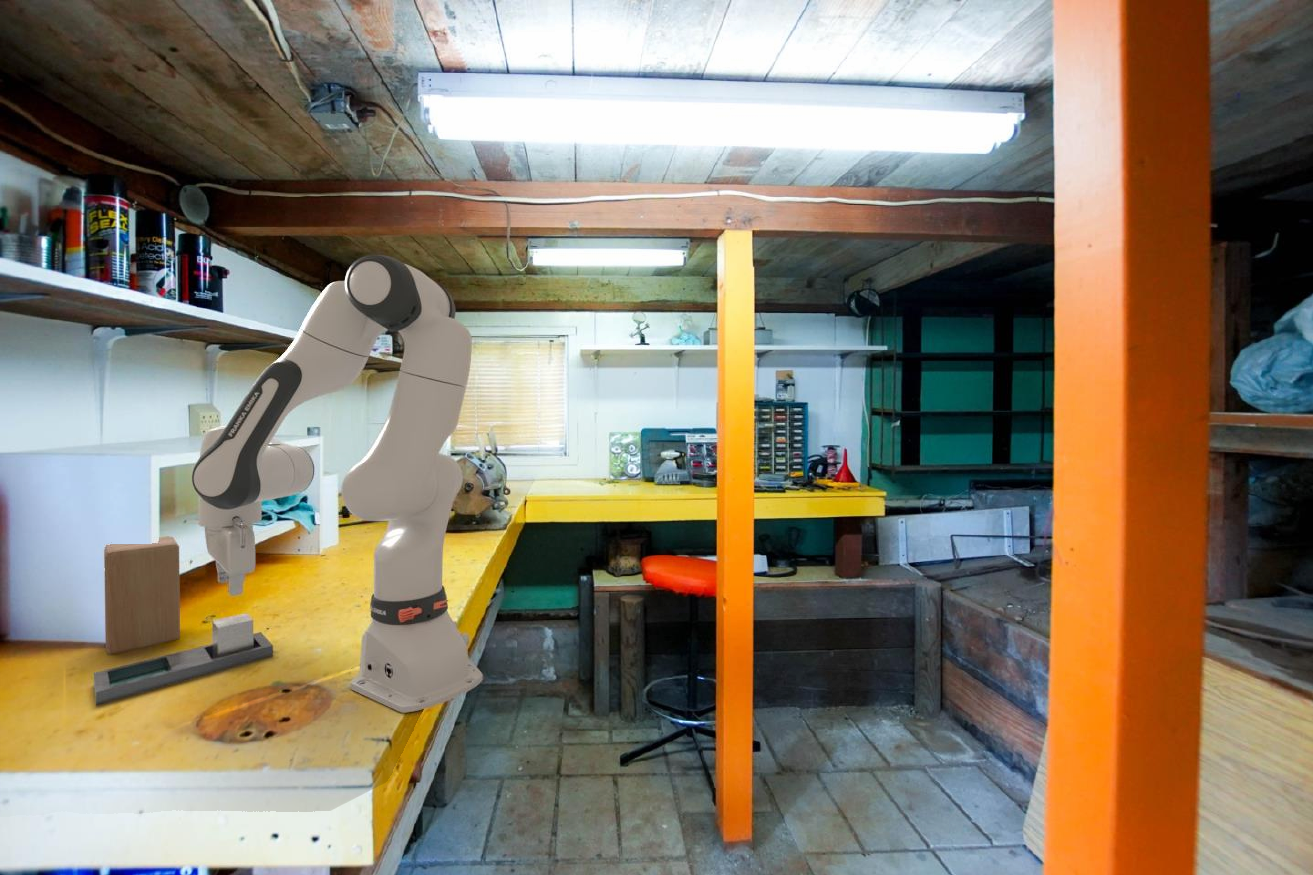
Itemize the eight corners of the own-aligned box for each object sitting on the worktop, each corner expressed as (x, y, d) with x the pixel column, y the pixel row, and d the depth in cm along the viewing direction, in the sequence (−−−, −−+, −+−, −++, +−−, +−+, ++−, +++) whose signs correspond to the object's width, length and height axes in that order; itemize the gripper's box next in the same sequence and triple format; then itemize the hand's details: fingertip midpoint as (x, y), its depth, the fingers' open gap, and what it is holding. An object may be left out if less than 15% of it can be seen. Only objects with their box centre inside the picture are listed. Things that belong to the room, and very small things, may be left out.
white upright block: (253, 657, 93) (253, 619, 93) (218, 666, 89) (217, 627, 89) (247, 649, 96) (246, 612, 96) (212, 658, 92) (212, 620, 92)
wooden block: (105, 642, 99) (104, 542, 99) (175, 627, 107) (174, 534, 106) (106, 658, 93) (104, 551, 92) (180, 641, 100) (179, 542, 100)
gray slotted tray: (273, 659, 93) (272, 645, 93) (96, 709, 77) (95, 692, 76) (260, 644, 99) (260, 631, 99) (93, 688, 82) (93, 672, 82)
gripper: (267, 519, 87) (265, 598, 88) (240, 504, 101) (239, 572, 101) (219, 524, 83) (218, 607, 83) (198, 507, 96) (197, 578, 96)
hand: (229, 587), depth 92 cm, fingers open, 8 cm apart
